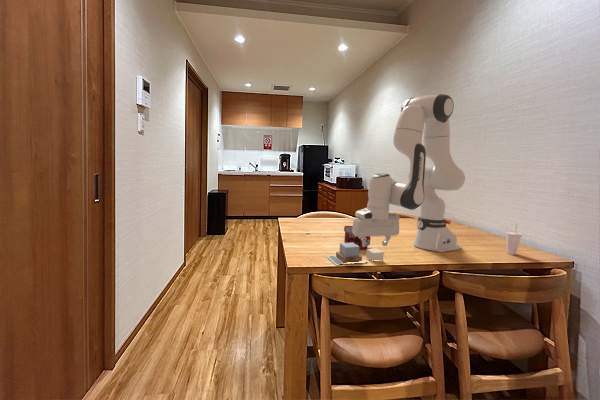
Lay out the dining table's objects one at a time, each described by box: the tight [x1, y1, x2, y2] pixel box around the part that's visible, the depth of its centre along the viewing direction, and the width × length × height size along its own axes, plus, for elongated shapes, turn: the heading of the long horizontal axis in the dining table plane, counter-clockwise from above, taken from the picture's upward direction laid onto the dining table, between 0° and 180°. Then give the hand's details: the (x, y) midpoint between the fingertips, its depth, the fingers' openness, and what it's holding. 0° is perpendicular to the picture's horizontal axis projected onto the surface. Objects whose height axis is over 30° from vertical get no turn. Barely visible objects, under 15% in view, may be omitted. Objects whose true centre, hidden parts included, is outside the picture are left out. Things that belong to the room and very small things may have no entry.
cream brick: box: [365, 248, 385, 261], centre depth 134 cm, size 5×5×4 cm
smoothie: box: [505, 224, 523, 256], centre depth 147 cm, size 6×6×14 cm
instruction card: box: [325, 254, 344, 265], centre depth 133 cm, size 14×11×1 cm
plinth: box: [335, 251, 363, 263], centre depth 133 cm, size 8×8×2 cm
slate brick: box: [339, 242, 360, 257], centre depth 132 cm, size 6×6×4 cm
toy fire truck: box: [343, 225, 371, 251], centre depth 149 cm, size 7×12×10 cm, turn 90°
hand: (374, 246), depth 133 cm, fingers open, 8 cm apart
